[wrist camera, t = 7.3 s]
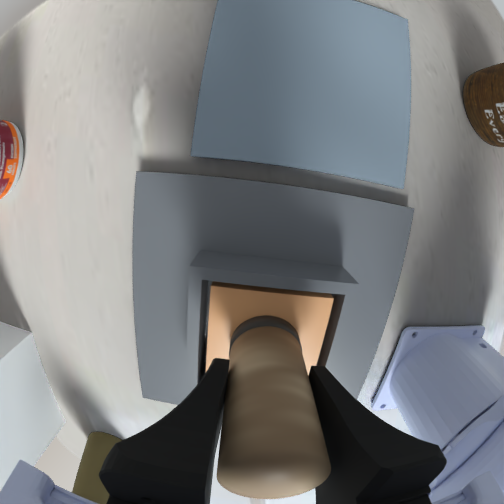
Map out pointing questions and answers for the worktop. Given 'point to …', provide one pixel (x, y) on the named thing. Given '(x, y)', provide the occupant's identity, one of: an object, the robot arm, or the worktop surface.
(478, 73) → the utensil holder
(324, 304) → the button
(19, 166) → the pill bottle
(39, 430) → the milk
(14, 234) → the worktop surface
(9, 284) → the worktop surface
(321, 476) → the rounded tan cylinder
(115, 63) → the worktop surface
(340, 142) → the rubber mat
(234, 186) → the breaker housing
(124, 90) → the worktop surface
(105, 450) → the cork
